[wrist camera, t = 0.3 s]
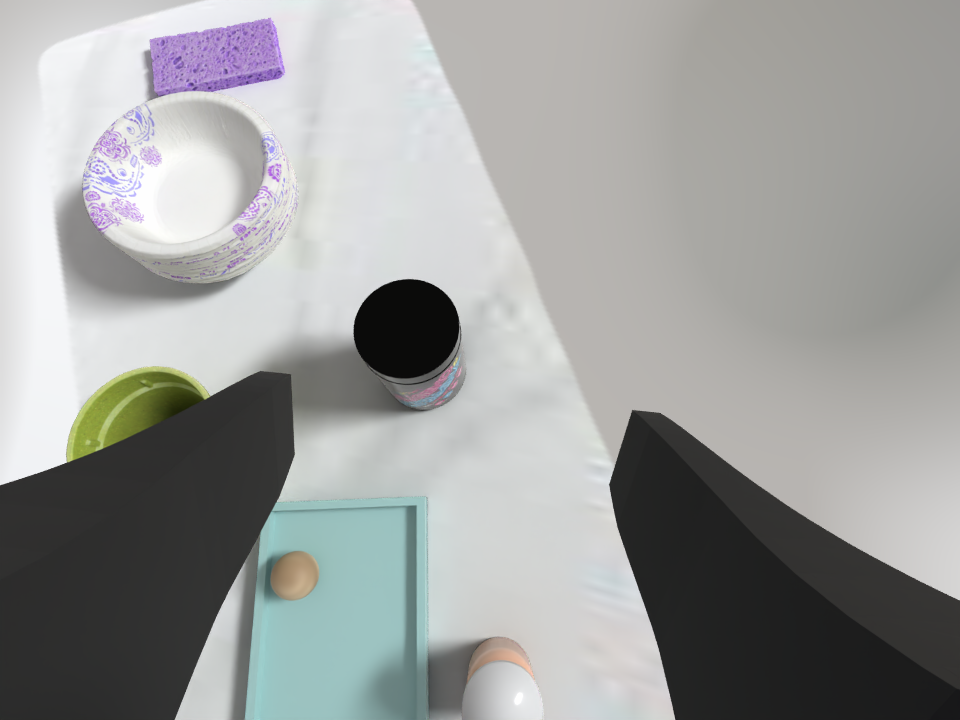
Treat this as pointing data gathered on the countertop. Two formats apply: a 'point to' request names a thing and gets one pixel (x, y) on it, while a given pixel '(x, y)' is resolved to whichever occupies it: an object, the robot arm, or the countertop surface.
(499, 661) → the shaker
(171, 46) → the sponges
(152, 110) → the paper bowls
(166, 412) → the plant pot
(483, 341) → the countertop surface
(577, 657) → the countertop surface
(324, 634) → the tray
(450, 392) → the supplement container
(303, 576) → the ball
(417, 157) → the countertop surface
